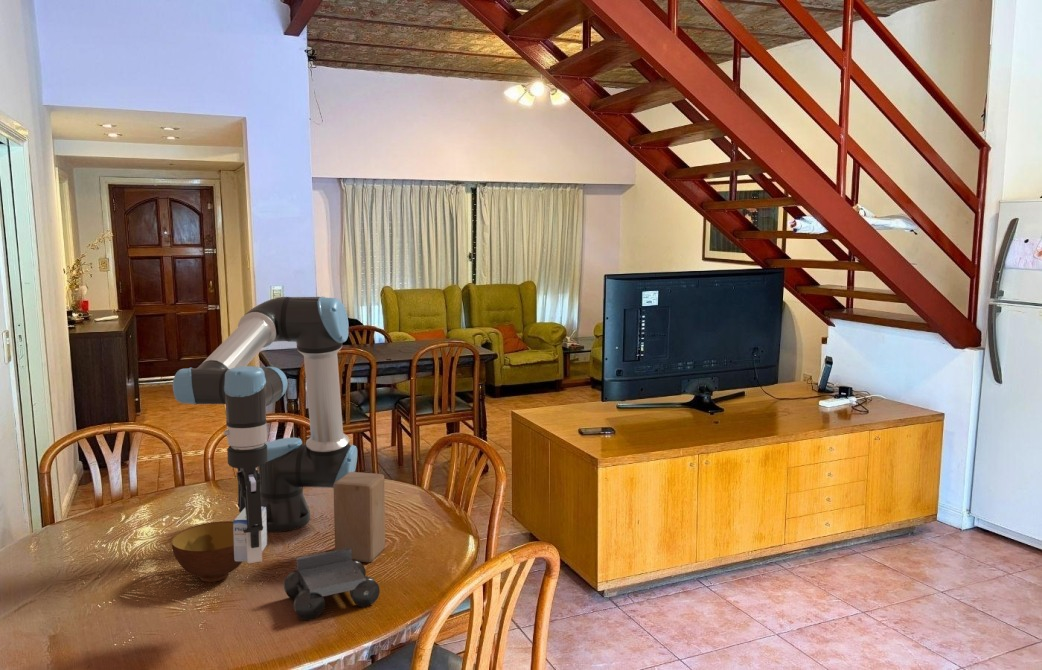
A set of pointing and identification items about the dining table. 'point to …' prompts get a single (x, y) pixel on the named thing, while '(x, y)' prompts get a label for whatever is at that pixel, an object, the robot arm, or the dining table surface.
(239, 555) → the medicine box
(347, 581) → the trolley
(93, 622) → the dining table surface
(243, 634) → the dining table surface
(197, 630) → the dining table surface
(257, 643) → the dining table surface
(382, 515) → the wooden block
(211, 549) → the bowl
